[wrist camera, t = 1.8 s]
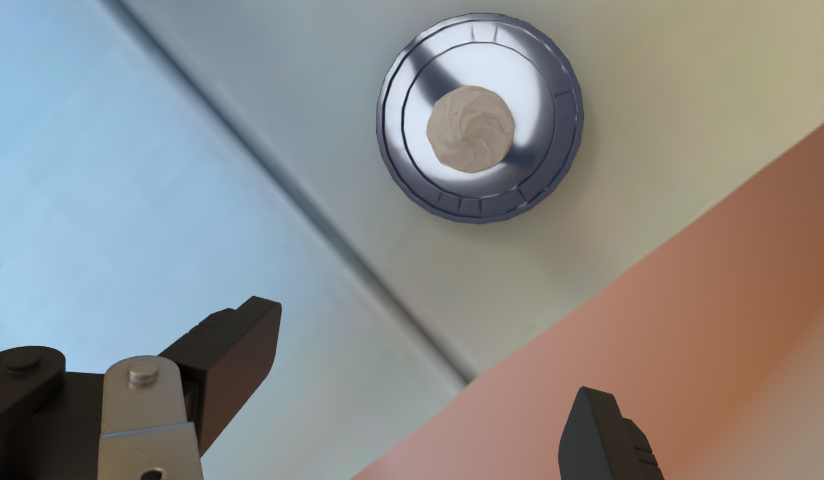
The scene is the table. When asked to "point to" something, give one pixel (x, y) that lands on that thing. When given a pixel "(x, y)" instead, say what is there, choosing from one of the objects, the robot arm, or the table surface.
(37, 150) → the table surface
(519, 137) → the plate
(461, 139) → the ice cream cone
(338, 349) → the table surface
